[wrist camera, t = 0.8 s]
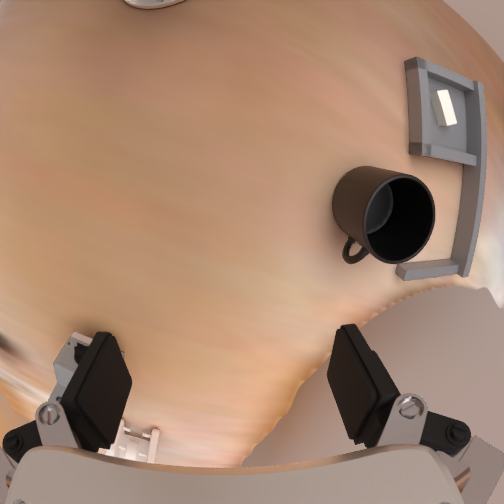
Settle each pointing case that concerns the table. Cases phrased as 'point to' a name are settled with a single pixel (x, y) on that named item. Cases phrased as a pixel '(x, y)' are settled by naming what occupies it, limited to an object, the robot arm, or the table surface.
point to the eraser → (443, 107)
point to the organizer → (449, 155)
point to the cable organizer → (134, 445)
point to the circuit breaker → (69, 362)
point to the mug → (383, 214)
